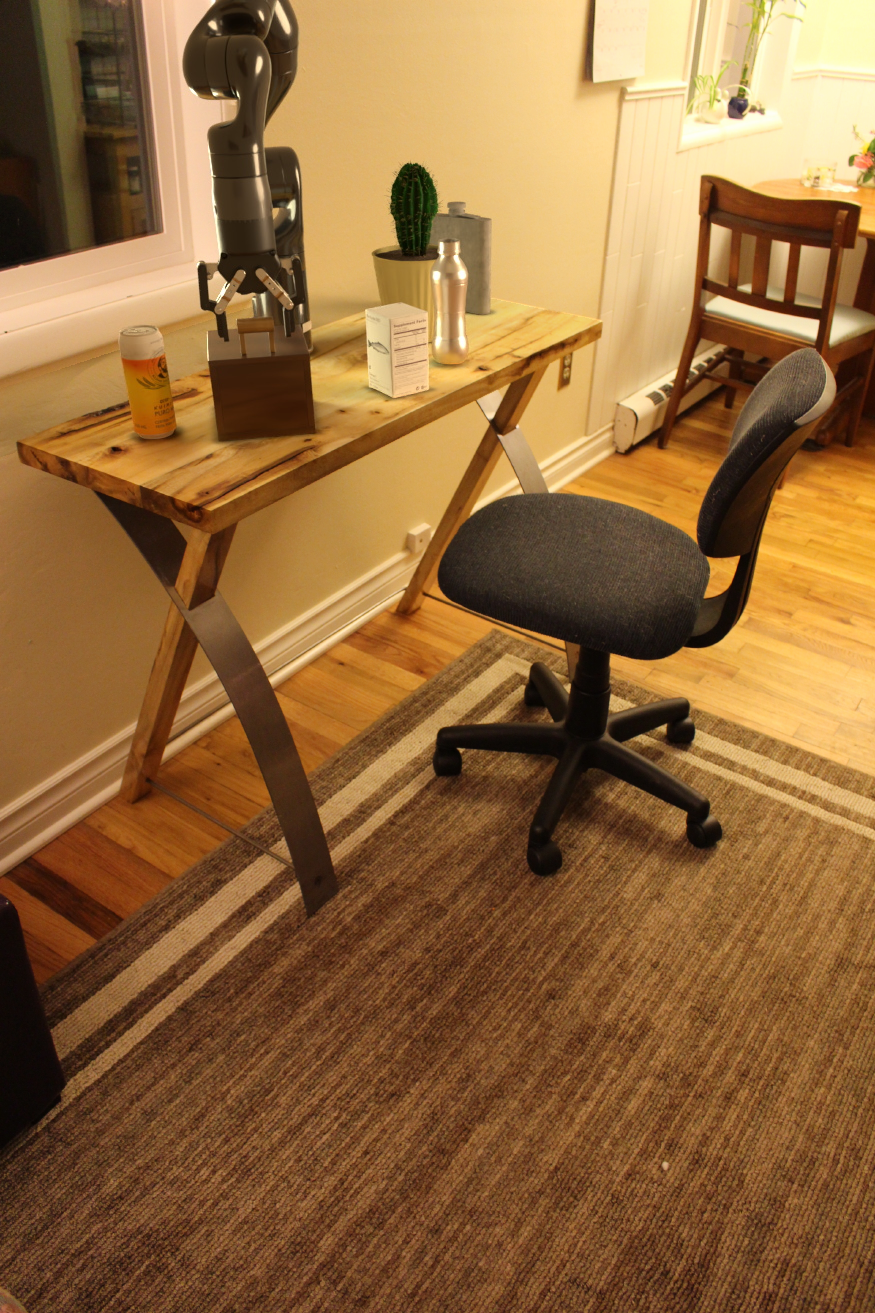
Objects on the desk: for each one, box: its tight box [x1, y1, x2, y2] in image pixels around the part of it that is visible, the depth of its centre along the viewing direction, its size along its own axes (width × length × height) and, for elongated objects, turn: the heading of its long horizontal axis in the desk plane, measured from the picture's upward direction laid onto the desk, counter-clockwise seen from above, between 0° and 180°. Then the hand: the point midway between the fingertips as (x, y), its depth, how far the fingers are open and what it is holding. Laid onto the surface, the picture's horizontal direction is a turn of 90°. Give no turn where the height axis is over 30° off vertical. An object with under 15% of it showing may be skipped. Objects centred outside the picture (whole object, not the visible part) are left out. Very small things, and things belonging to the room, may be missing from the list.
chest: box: [208, 358, 317, 442], centre depth 152 cm, size 15×14×11 cm
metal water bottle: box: [430, 238, 470, 365], centre depth 172 cm, size 6×7×20 cm
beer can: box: [117, 324, 177, 440], centre depth 147 cm, size 6×6×15 cm
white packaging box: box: [364, 303, 430, 399], centre depth 163 cm, size 7×7×13 cm
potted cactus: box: [371, 160, 444, 343], centre depth 184 cm, size 15×15×30 cm
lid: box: [206, 317, 311, 368], centre depth 147 cm, size 16×14×6 cm
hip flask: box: [429, 201, 493, 316], centre depth 203 cm, size 16×4×20 cm, turn 58°
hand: (257, 337), depth 142 cm, fingers open, 8 cm apart
